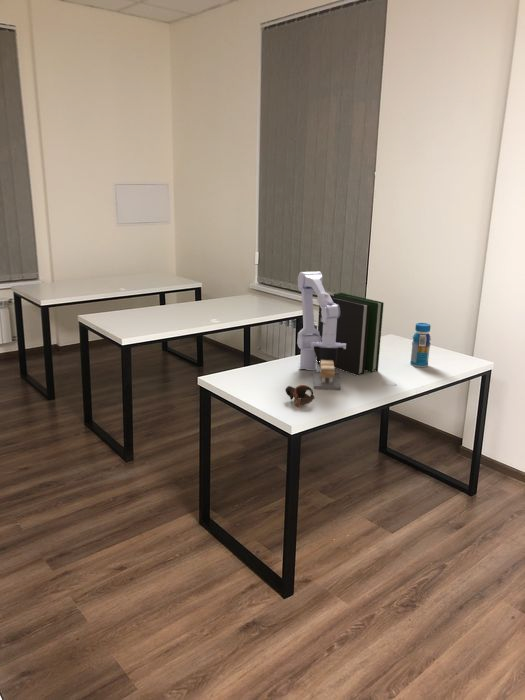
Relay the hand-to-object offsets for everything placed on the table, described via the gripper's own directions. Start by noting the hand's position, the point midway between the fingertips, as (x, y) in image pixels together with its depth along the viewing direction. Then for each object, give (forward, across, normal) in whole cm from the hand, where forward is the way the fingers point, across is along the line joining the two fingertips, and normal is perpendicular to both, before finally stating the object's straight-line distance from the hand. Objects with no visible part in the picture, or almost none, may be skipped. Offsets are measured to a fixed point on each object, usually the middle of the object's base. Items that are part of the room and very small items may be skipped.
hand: (327, 364), depth 249 cm
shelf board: (+4, 0, 0) cm, 4 cm away
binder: (+8, +10, +24) cm, 28 cm away
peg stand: (+8, 0, 0) cm, 8 cm away
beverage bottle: (+8, +45, +32) cm, 56 cm away
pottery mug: (+8, -11, -27) cm, 31 cm away
